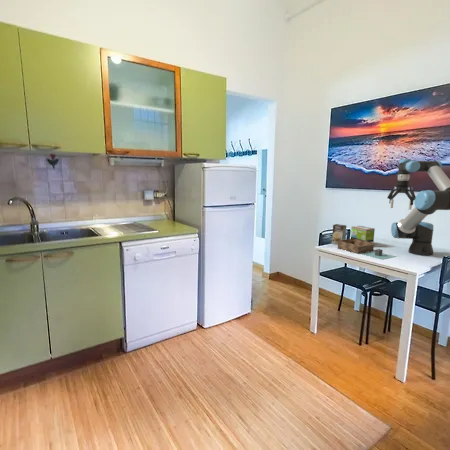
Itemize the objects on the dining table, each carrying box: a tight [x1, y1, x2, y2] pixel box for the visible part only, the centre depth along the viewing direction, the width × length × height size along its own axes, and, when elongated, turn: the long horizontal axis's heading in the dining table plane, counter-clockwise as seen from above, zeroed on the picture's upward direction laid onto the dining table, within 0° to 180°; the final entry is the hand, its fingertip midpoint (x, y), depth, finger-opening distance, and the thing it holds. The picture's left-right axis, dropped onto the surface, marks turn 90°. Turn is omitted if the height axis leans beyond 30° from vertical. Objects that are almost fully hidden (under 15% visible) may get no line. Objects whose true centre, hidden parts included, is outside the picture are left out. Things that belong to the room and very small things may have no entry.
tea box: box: [350, 225, 376, 243], centre depth 234 cm, size 15×10×15 cm, turn 25°
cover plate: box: [361, 248, 397, 261], centre depth 201 cm, size 16×16×5 cm
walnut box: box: [337, 238, 375, 255], centre depth 217 cm, size 18×18×6 cm
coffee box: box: [331, 223, 347, 245], centre depth 236 cm, size 9×6×16 cm
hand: (400, 208), depth 214 cm, fingers open, 13 cm apart
